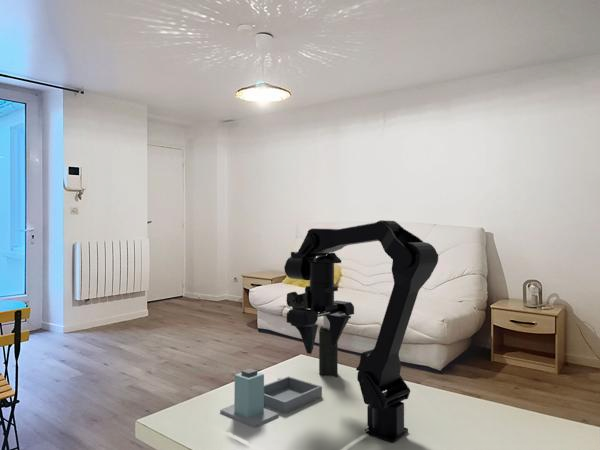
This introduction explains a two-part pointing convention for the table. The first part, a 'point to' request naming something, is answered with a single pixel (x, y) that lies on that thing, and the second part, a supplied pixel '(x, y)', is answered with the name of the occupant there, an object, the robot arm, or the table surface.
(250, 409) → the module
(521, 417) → the table surface
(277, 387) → the case
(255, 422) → the lid panel
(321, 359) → the black grey pointed bar
